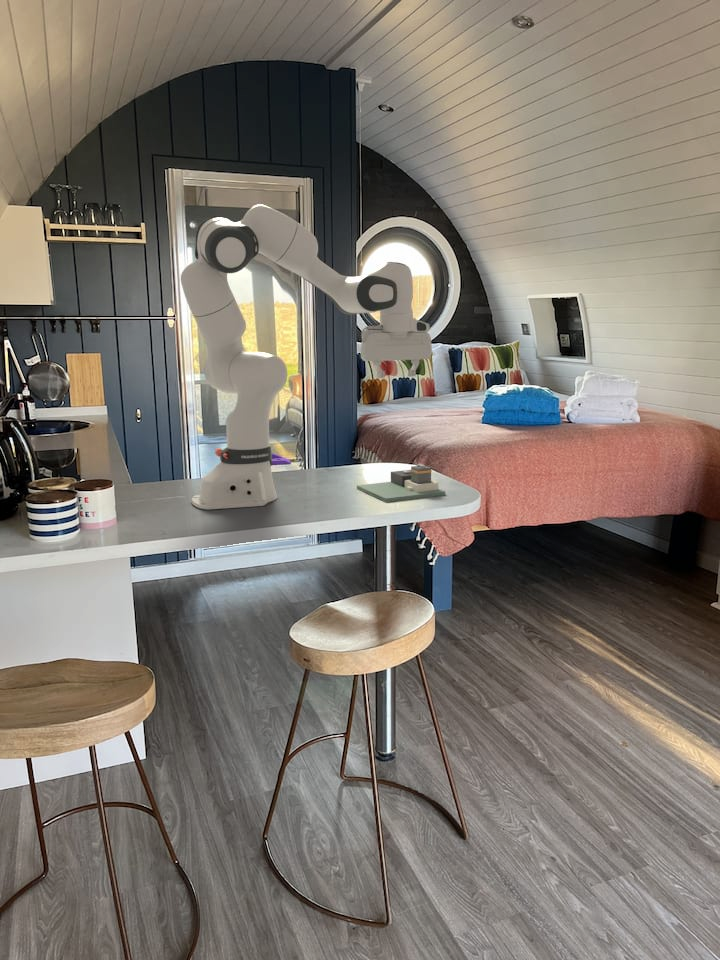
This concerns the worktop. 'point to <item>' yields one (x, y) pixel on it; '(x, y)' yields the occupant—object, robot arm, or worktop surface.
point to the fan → (400, 477)
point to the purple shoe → (279, 460)
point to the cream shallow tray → (421, 486)
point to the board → (395, 492)
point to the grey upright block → (420, 474)
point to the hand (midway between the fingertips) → (396, 377)
